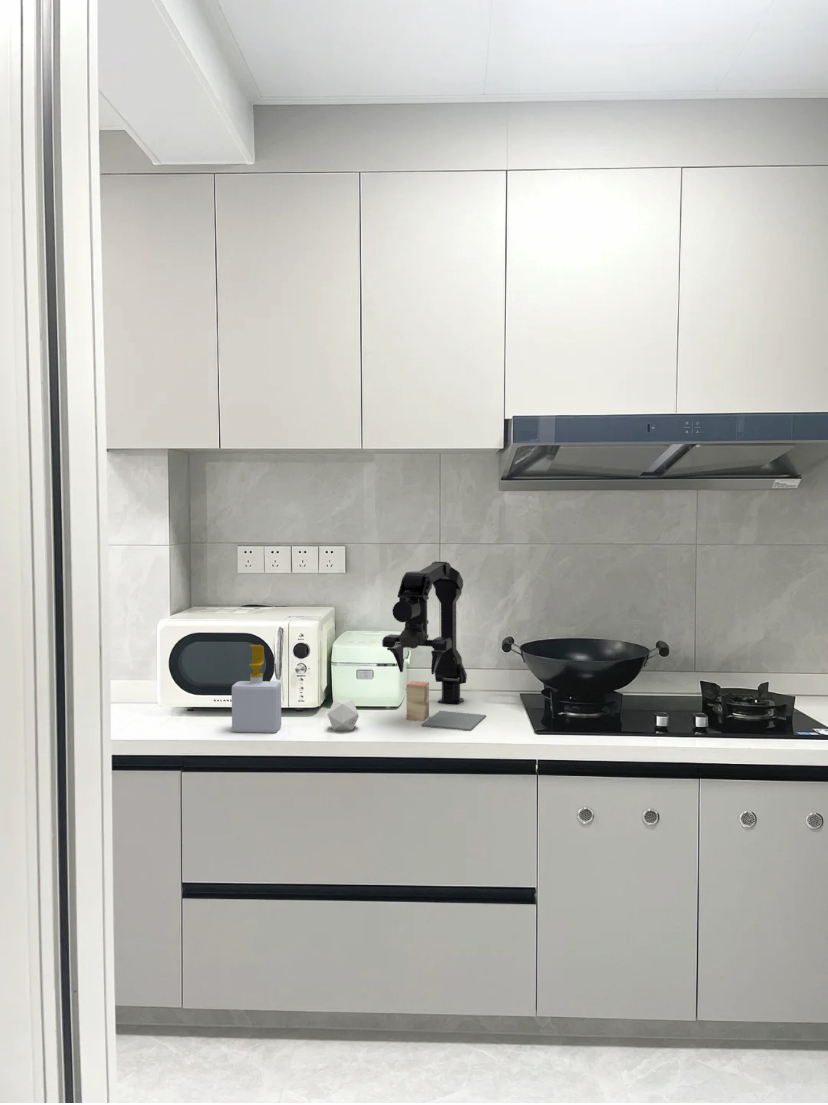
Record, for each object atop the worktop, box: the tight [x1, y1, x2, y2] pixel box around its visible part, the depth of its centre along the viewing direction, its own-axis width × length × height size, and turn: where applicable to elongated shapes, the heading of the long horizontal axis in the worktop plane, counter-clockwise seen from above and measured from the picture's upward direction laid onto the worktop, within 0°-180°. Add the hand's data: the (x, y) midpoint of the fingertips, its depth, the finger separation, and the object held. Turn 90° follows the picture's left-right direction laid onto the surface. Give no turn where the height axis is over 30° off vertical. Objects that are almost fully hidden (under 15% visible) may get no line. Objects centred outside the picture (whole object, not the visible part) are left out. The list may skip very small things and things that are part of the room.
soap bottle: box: [231, 644, 282, 734], centre depth 223 cm, size 12×7×23 cm, turn 87°
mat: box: [421, 710, 487, 732], centre depth 232 cm, size 16×14×1 cm
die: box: [327, 699, 360, 732], centre depth 224 cm, size 8×9×10 cm
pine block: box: [406, 680, 430, 722], centre depth 236 cm, size 5×5×10 cm
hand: (417, 673), depth 230 cm, fingers open, 9 cm apart
